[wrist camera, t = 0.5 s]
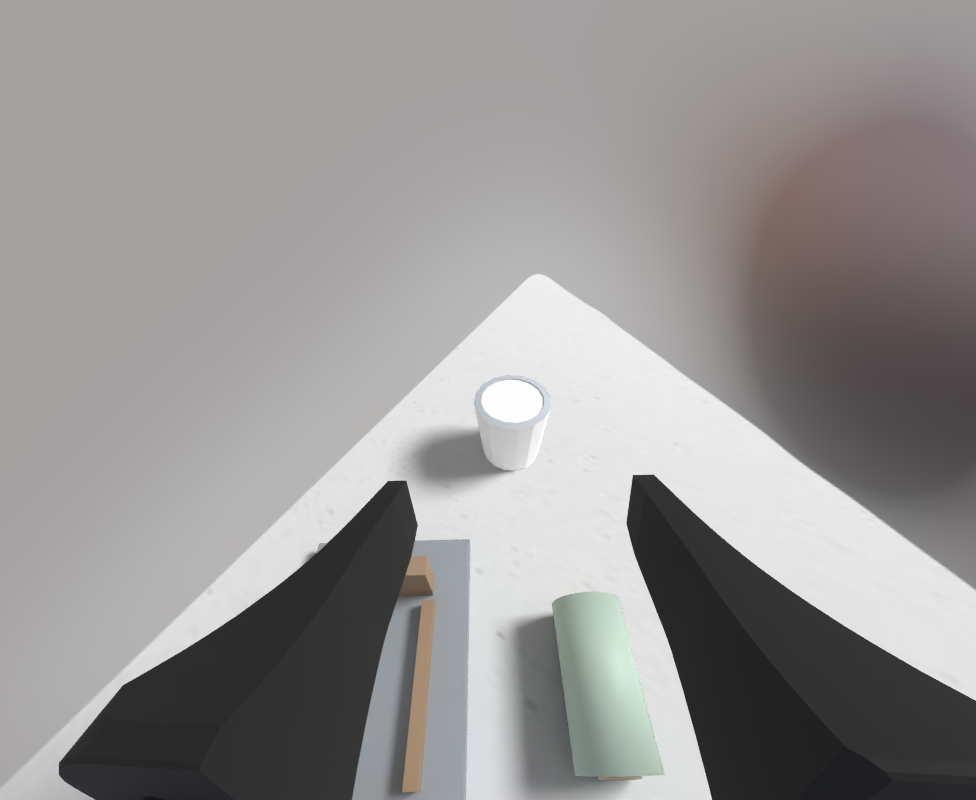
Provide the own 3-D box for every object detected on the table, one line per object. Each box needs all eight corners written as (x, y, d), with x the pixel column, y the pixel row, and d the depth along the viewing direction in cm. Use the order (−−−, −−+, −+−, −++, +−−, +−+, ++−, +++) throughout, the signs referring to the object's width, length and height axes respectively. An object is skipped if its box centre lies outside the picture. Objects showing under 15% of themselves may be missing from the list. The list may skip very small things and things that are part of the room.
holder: (463, 936, 16) (453, 990, 12) (201, 944, 16) (114, 999, 12) (470, 545, 29) (466, 515, 25) (324, 549, 29) (299, 519, 25)
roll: (649, 776, 20) (679, 779, 17) (568, 778, 20) (584, 782, 16) (609, 609, 26) (626, 588, 22) (547, 610, 26) (556, 589, 22)
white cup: (463, 452, 36) (457, 403, 31) (504, 413, 40) (505, 364, 35) (518, 489, 33) (521, 441, 28) (557, 443, 36) (566, 394, 31)
